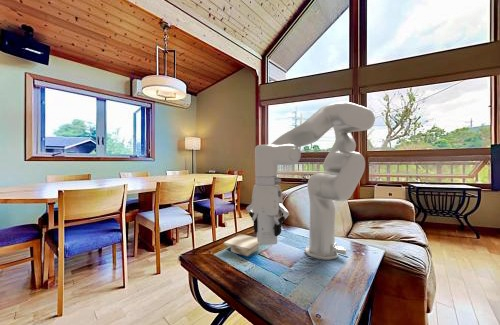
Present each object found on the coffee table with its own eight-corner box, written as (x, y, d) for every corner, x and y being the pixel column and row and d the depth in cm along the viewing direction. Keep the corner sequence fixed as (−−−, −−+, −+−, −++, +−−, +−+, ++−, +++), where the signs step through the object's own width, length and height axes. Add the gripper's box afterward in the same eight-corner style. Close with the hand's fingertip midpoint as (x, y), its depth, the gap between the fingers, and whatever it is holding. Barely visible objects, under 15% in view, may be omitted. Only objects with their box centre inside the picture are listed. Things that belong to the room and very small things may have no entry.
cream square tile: (264, 248, 99) (264, 239, 99) (249, 259, 88) (249, 248, 88) (240, 242, 105) (240, 233, 105) (223, 252, 95) (223, 242, 95)
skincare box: (260, 246, 79) (259, 209, 78) (256, 241, 83) (256, 206, 83) (278, 244, 80) (277, 208, 80) (273, 239, 85) (273, 205, 84)
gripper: (294, 181, 80) (295, 234, 80) (250, 178, 89) (251, 226, 89) (286, 184, 73) (286, 241, 74) (238, 181, 82) (239, 232, 83)
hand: (267, 232), depth 82 cm, fingers closed on skincare box, 7 cm apart
